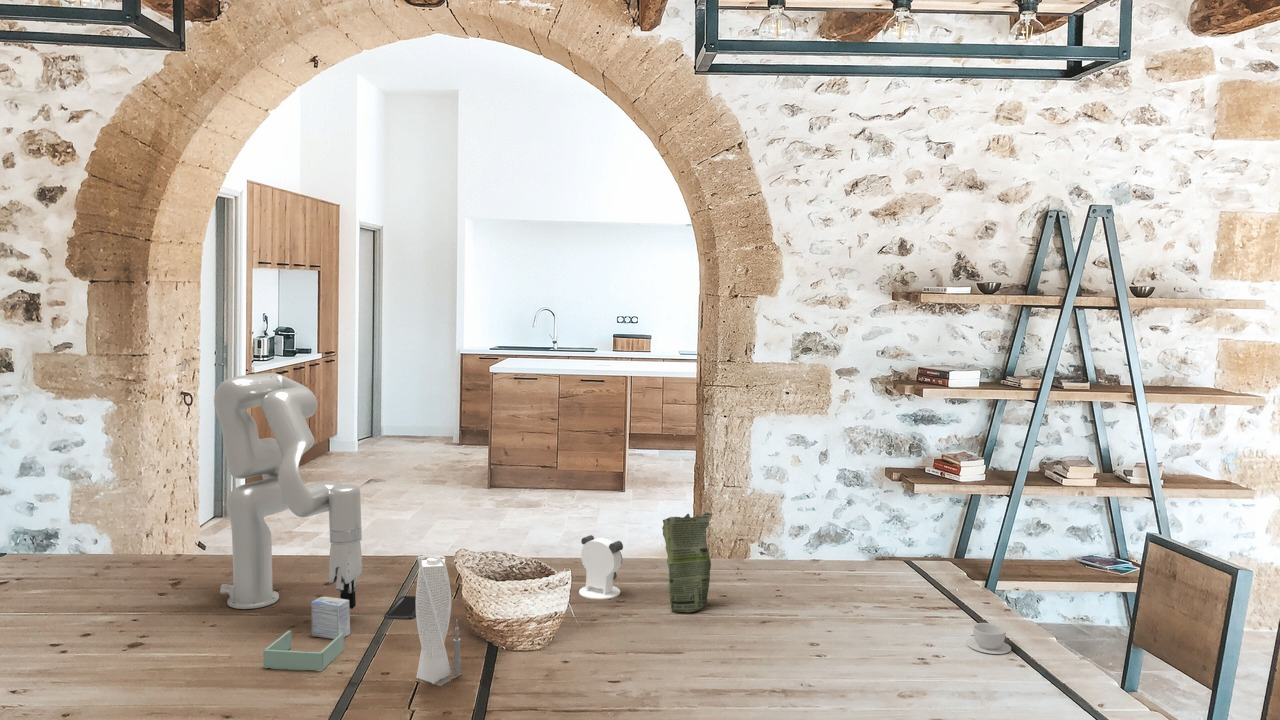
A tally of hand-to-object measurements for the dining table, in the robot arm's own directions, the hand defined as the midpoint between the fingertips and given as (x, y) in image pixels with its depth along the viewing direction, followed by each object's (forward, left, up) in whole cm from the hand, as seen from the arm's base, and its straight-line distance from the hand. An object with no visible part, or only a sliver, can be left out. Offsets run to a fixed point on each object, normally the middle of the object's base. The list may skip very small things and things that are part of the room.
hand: (348, 607), depth 232 cm
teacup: (+156, +4, -4) cm, 156 cm away
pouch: (+83, +22, -4) cm, 86 cm away
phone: (+11, +11, -4) cm, 17 cm away
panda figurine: (+59, +30, -4) cm, 67 cm away
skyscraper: (+31, -29, -4) cm, 43 cm away
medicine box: (-1, -9, -4) cm, 10 cm away
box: (-1, -23, -4) cm, 23 cm away
